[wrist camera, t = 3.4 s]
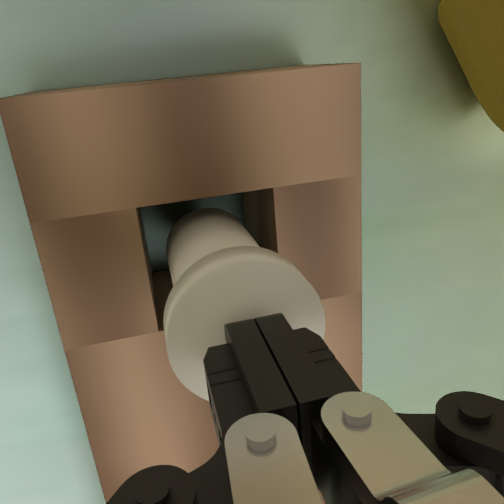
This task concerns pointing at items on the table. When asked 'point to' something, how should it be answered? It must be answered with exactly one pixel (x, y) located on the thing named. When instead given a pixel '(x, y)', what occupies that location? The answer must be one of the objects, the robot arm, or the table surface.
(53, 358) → the table surface
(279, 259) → the grey plug
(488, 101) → the flower pot
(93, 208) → the block
